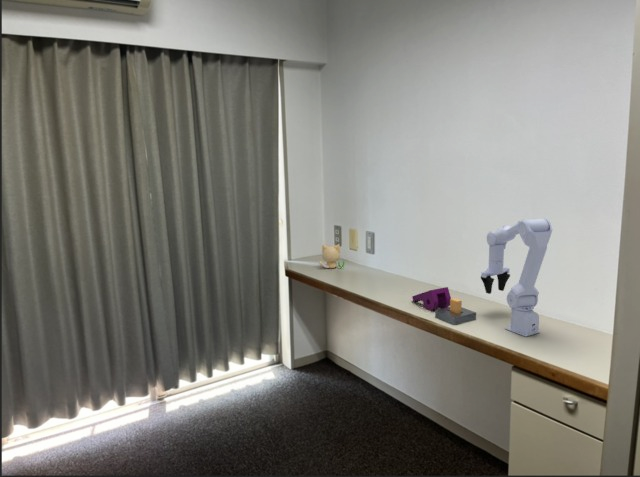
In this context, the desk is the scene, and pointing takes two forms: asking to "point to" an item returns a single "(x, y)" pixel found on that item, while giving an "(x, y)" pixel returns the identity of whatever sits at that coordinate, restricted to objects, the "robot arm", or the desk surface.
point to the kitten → (331, 256)
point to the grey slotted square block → (455, 316)
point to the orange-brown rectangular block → (455, 306)
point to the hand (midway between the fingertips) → (494, 291)
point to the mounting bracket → (434, 298)
